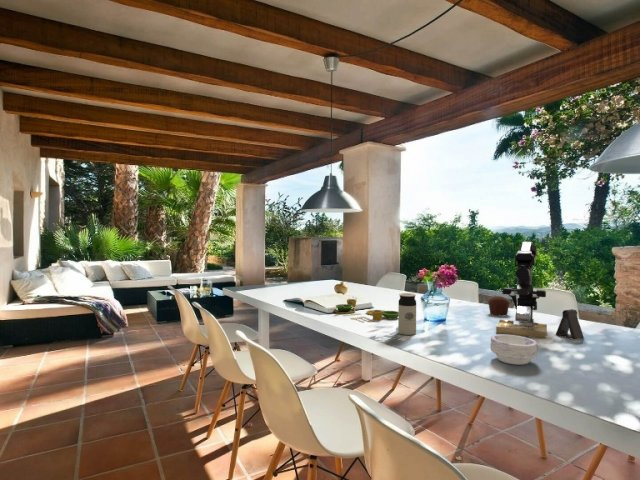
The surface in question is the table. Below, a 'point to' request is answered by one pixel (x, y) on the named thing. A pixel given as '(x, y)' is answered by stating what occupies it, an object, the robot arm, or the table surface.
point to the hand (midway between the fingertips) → (523, 309)
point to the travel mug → (407, 314)
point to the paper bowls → (513, 349)
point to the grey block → (523, 314)
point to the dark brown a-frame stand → (570, 325)
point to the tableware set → (376, 313)
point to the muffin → (498, 305)
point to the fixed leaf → (522, 329)
